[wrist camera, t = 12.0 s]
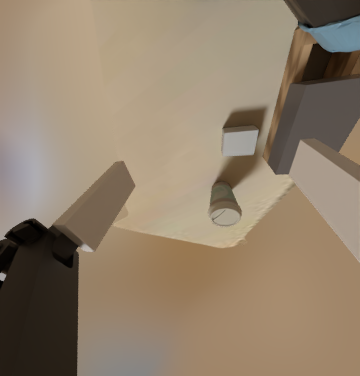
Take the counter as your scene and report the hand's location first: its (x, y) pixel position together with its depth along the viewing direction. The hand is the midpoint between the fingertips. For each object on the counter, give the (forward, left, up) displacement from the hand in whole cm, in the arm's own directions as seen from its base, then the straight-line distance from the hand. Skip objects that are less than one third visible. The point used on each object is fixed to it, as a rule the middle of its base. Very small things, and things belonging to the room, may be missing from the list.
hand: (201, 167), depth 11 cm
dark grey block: (+5, +19, -25) cm, 32 cm away
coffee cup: (+24, +5, -26) cm, 36 cm away
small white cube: (+8, +8, -26) cm, 28 cm away
